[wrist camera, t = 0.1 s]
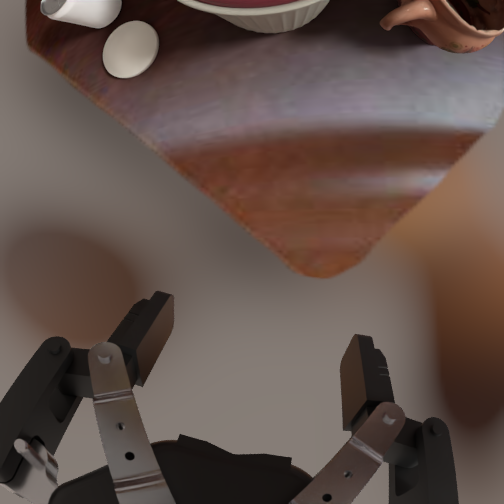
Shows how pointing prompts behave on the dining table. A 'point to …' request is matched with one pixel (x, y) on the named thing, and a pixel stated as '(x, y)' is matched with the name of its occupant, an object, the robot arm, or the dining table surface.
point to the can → (82, 11)
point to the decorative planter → (450, 22)
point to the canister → (262, 12)
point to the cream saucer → (130, 49)
